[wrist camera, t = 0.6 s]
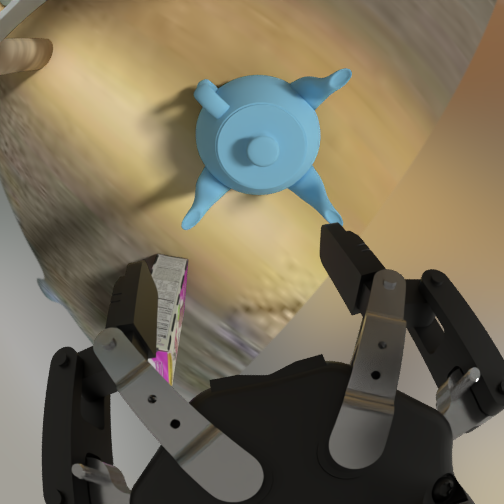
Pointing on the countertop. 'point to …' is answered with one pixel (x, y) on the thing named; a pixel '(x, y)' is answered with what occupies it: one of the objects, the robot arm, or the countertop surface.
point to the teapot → (261, 140)
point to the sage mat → (5, 2)
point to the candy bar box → (169, 311)
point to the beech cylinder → (24, 54)
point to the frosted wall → (16, 14)
